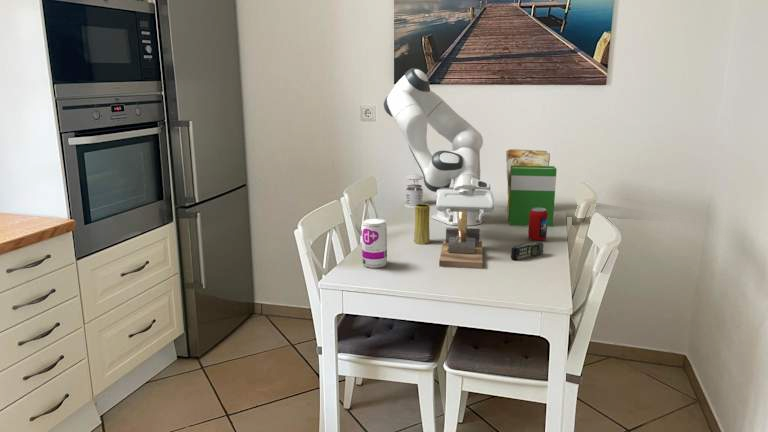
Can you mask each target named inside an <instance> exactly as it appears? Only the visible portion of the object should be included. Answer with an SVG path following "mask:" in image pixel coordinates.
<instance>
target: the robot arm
mask: <svg viewBox="0 0 768 432" xmlns="http://www.w3.org/2000/svg"><path fill="white" fill-rule="evenodd" d="M430 85H431V84H430V80H429V77H428V76H427V74H426V73H425V72H424V71H422V70H421V69H419V68H416V67H412V68H410V69H408V70H407V71H406V72H405V73H404V75H403V76H402V77H401V78H400V79H398V81H397V82H396V83H395V84H394V87H392V90H391V91H390V93H388V95H387V96H386V97H385V99H384V101H383V108H384V111H385V112H386V113H387V115H389V116H390V117H391V118H393V120H394V121H395V124H397V126H398V127H399V130H400V131H401V133H402V135H403V137H404V138H405V141H406V143H407V145H408V147H409V149H410V152H411V153H412V157H413V158H415V162H416V164H417V165H418V167H419V168H420V170H421V173H422V177H423V183H424V185H425V187H426V188H427V189H428V190H429V191H431V192H434V193H436V194H435V195H436V205H435V206H436V208H435V209H436V210H437V213H435V214H433V215H432V216H431V218H432V219H433V220H436V221H438V222H441V223H444V224H447V225H449V226H458V212H459V211H467V226H476V225H481V224H482V223H483V219H482V218H483V216H484V214H485V213H487V214H488V213H493V212H494V210H495V199H494V195H493V191H492V190H491V184H490V182H486V181H483V180H481V157H480V154H481V153H480V151H481V149H482V147H483V144H484V140H483V135H482V134H481V132H479V131H478V130H477V129H476V128H475V127H474V126H473V125H472V124H470V123H469V122H468V121H467V120H465V119H464V118H463V117H462V116H461V115H459V114H458V113H457V112H456V111H455V110H454V109H453V108H452V107H451V106H450V105H449V104H448V103H447V102H446V101H445V100H444V99H442V98H441V97H440V95H438V94H437V93H436V92H434V91H432V90H431V88H430ZM428 125H429V126H430V127H432V129H434V130H435V131H436V132H437V134H439V135H441V136H442V137H443V138H445V139H446V140H447V141H449V142H450V143H451V144H452V145H451V147H452V151H449V150H438V151H436V152H434V153H433V155H432V153H431V151H430V149H429V147H428V143H427V142H428V141H427V133H428ZM452 180H453V187H450V186H451V184H452V183H451V182H452Z"/></svg>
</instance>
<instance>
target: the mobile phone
mask: <svg viewBox="0 0 768 432" xmlns="http://www.w3.org/2000/svg"><path fill="white" fill-rule="evenodd" d="M544 247H545V246H544V243H543V241H530V242H526V243H521V244H520V243H519V244H517V245H513V246H512V247H511V248H510V249H511V251H510V252H511V253H510V259H511V260H513V261H519V260H524V259H528V258H535V257H538V256H539V255H542V254H543V253H544Z"/></svg>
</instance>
